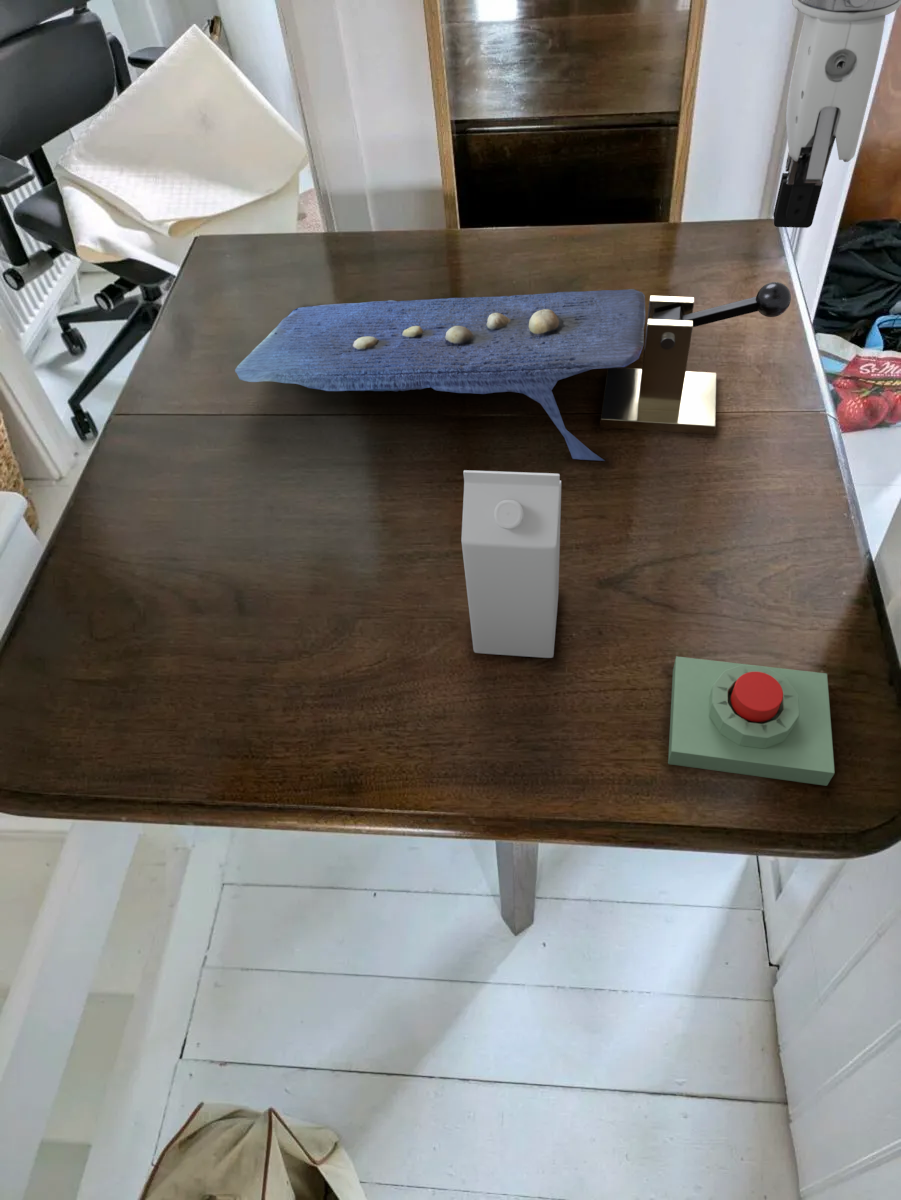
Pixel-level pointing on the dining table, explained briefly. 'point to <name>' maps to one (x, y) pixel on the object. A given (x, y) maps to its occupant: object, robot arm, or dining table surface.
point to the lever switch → (737, 307)
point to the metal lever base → (662, 380)
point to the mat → (456, 345)
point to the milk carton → (512, 560)
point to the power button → (756, 696)
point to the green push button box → (750, 724)
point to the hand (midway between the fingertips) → (791, 222)
